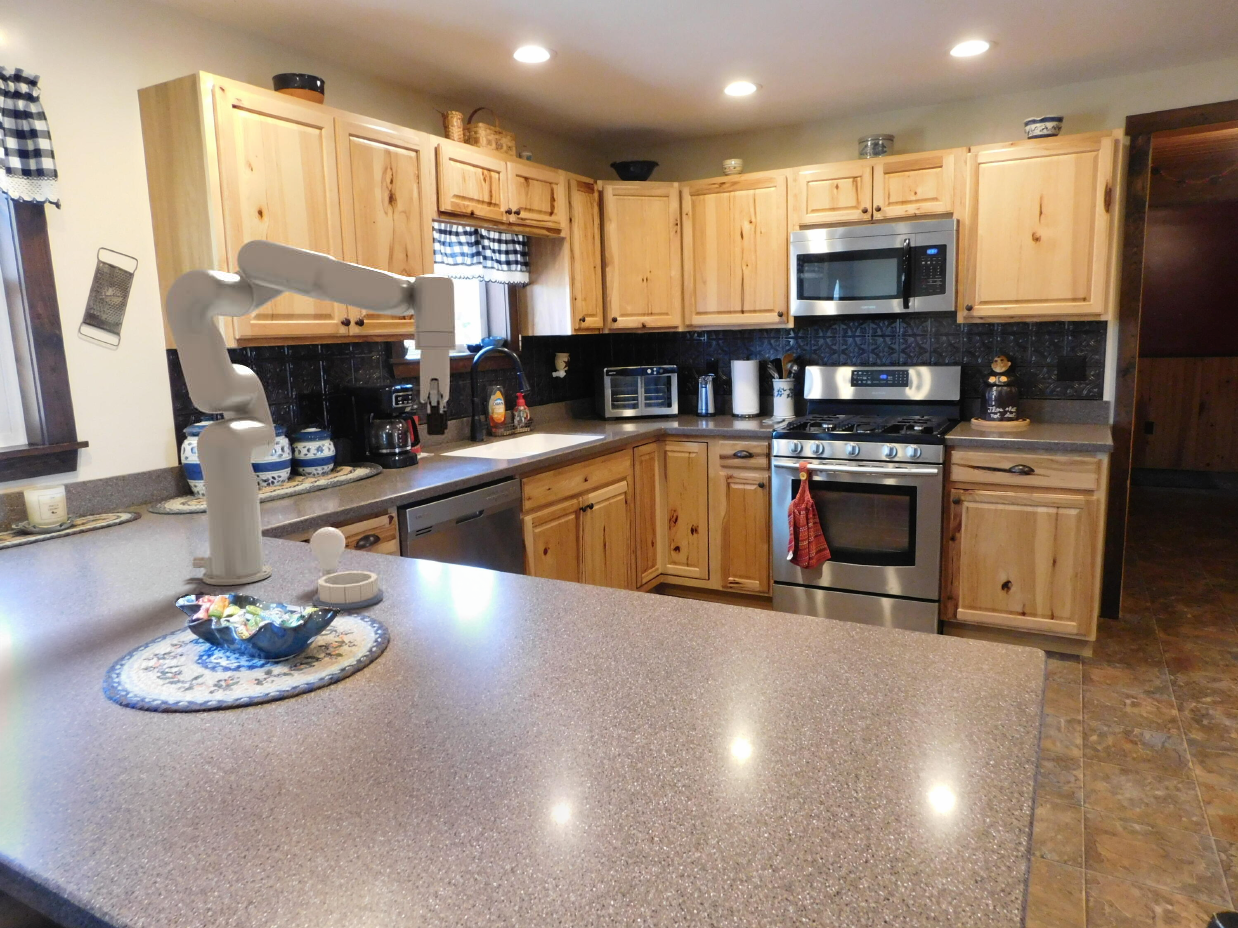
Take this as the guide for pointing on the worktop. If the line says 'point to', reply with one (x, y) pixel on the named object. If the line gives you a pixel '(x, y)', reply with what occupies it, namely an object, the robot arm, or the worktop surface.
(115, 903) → the worktop surface
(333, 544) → the lightbulb
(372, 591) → the holder
